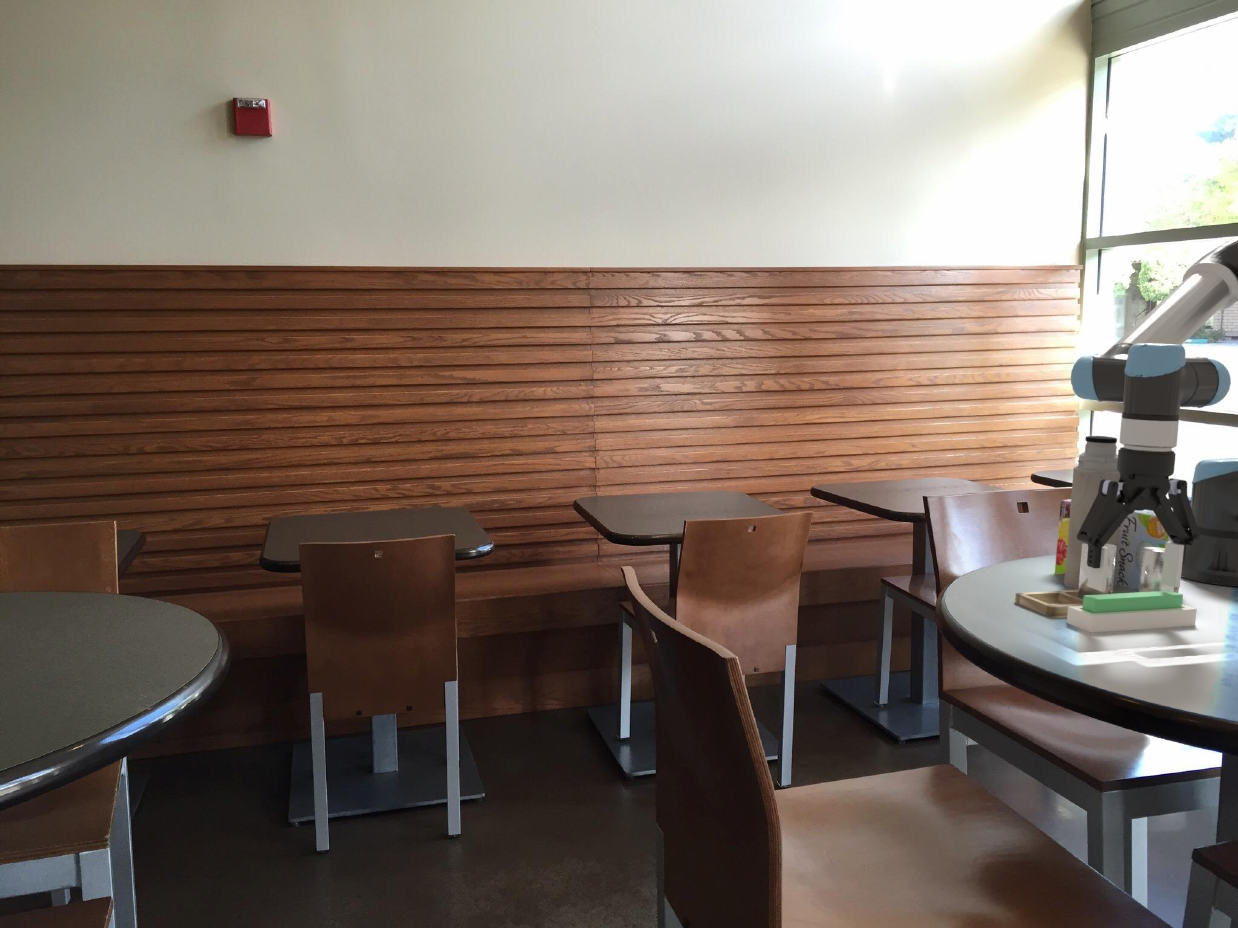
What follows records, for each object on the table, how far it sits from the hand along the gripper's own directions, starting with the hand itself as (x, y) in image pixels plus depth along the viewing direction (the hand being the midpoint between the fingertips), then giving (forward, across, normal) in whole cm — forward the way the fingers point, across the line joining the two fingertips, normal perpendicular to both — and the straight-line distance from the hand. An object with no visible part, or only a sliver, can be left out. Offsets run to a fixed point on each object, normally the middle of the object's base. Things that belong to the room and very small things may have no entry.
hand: (1134, 587), depth 147 cm
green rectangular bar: (+5, 0, 0) cm, 5 cm away
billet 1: (+6, -2, -10) cm, 12 cm away
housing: (+7, 0, 0) cm, 7 cm away
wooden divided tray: (+7, +2, -10) cm, 12 cm away
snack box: (+7, -19, -24) cm, 31 cm away
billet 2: (+6, -11, -7) cm, 15 cm away
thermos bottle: (+7, -11, -21) cm, 25 cm away
